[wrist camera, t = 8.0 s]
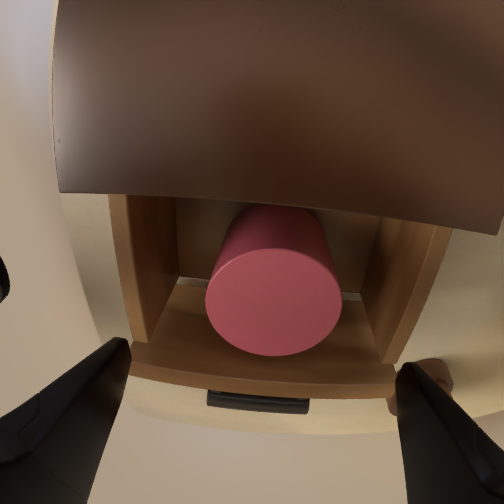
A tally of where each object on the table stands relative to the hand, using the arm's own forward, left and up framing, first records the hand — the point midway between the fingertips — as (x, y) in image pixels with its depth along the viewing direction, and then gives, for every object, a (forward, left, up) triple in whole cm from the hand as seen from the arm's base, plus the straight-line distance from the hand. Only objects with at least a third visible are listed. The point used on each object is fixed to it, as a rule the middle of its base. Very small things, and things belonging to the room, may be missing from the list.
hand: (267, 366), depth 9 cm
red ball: (0, 0, -8) cm, 8 cm away
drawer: (-1, -2, -9) cm, 10 cm away
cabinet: (+7, +8, -10) cm, 14 cm away
